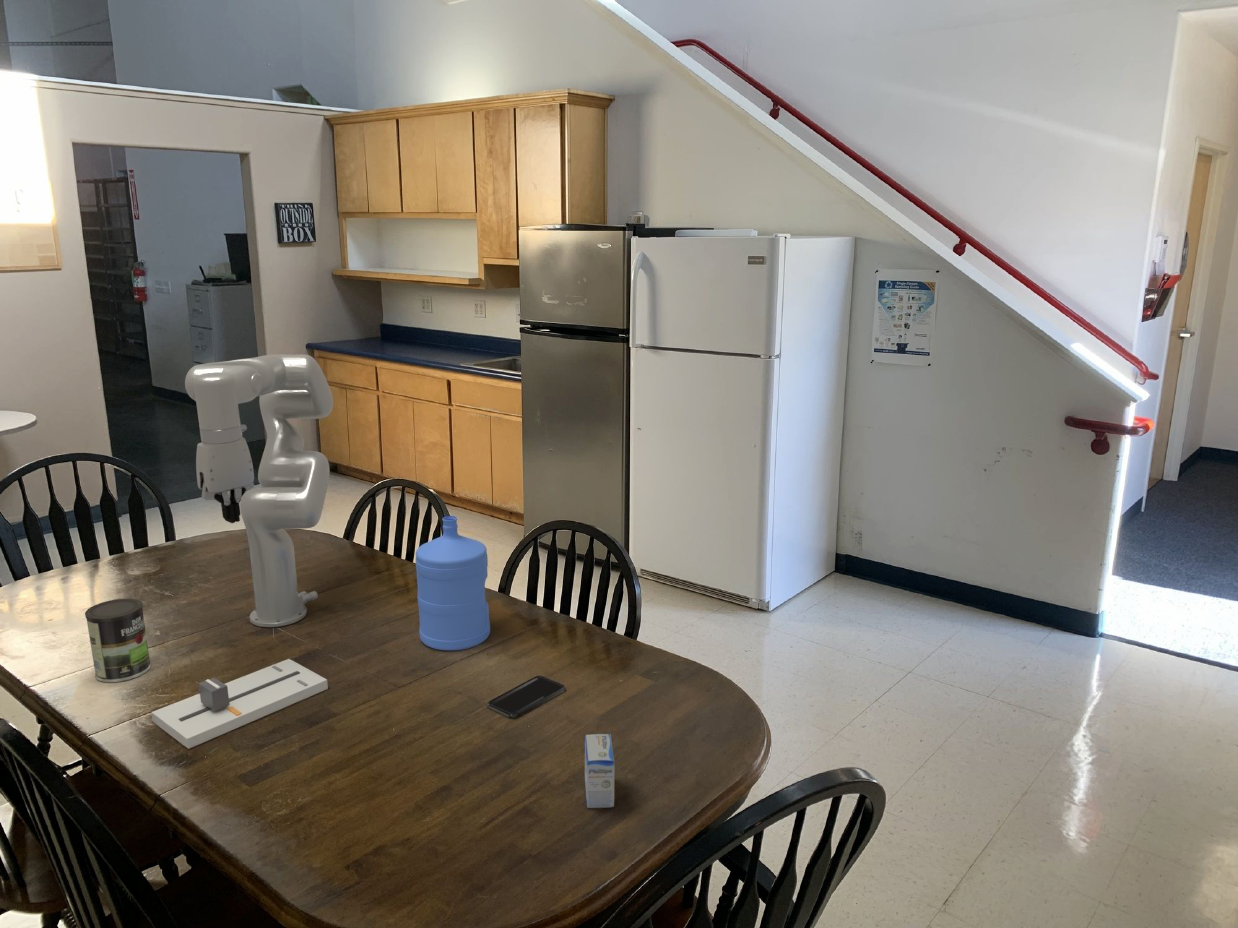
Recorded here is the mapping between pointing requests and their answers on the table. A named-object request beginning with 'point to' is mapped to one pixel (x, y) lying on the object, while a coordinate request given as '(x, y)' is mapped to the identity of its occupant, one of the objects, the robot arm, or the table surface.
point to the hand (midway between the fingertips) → (232, 520)
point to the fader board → (240, 703)
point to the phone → (525, 697)
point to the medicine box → (599, 771)
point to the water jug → (452, 590)
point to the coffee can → (118, 640)
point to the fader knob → (214, 694)
